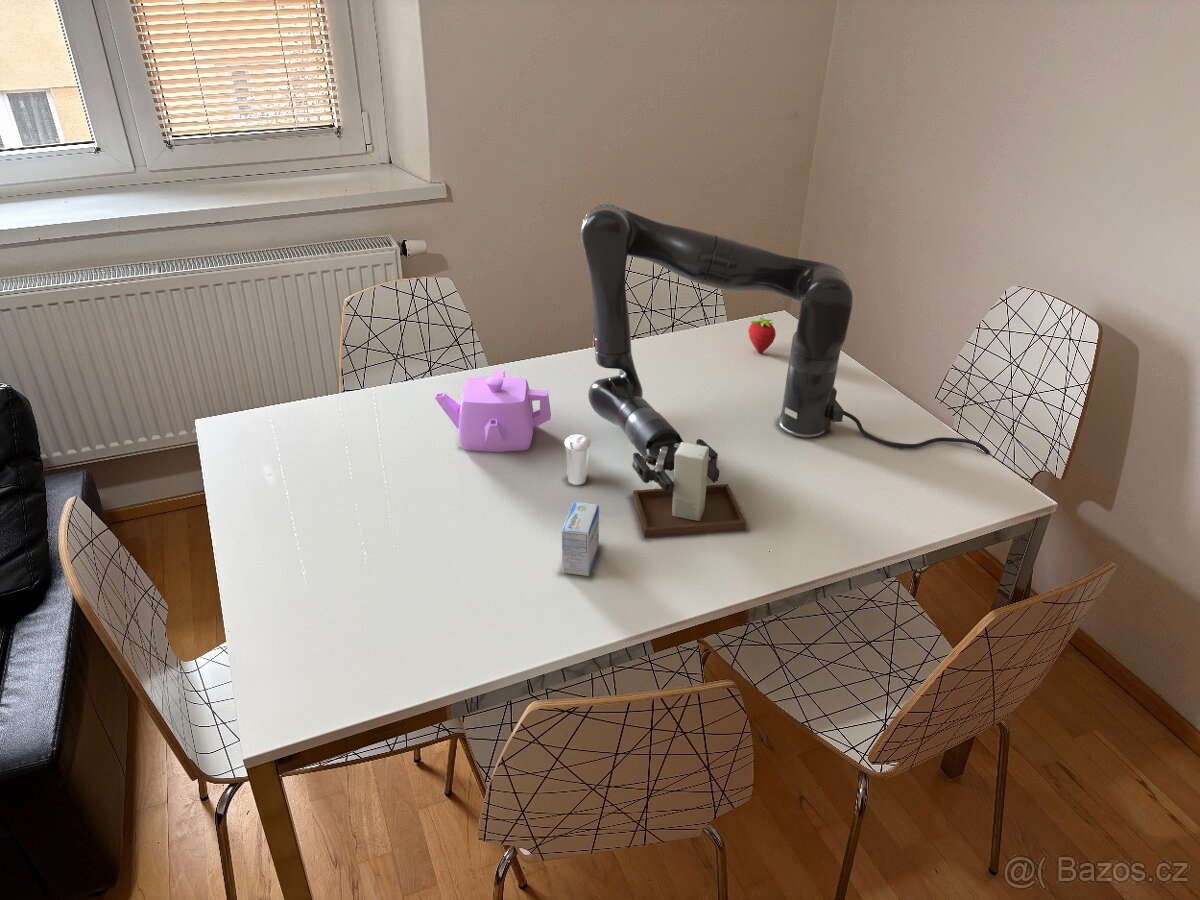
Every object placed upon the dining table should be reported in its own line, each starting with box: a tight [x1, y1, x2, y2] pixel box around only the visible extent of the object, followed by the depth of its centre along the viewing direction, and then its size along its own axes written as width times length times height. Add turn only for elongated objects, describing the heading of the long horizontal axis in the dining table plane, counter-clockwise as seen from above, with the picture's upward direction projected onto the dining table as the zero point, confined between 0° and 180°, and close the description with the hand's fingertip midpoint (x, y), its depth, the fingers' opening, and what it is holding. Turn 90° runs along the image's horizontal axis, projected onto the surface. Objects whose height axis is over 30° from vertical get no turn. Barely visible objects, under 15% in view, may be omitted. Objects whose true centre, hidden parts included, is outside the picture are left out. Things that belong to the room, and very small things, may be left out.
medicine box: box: [560, 501, 600, 577], centre depth 139 cm, size 8×4×9 cm, turn 168°
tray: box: [632, 483, 747, 539], centre depth 152 cm, size 17×11×2 cm, turn 98°
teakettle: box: [434, 369, 552, 453], centre depth 169 cm, size 17×17×12 cm
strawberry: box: [748, 313, 777, 355], centre depth 203 cm, size 6×8×10 cm
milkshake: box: [564, 434, 591, 486], centre depth 157 cm, size 4×5×10 cm
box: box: [672, 441, 709, 521], centre depth 149 cm, size 5×4×13 cm
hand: (694, 483), depth 147 cm, fingers open, 8 cm apart
